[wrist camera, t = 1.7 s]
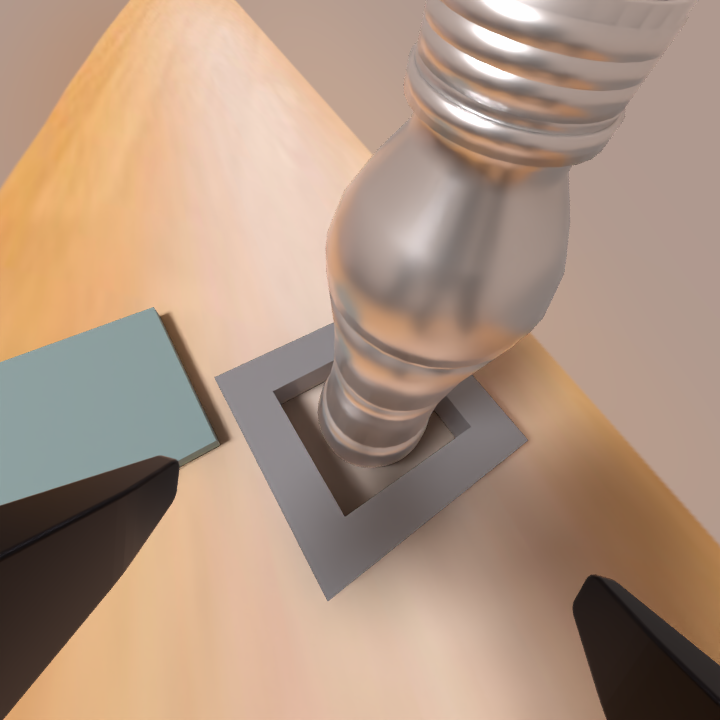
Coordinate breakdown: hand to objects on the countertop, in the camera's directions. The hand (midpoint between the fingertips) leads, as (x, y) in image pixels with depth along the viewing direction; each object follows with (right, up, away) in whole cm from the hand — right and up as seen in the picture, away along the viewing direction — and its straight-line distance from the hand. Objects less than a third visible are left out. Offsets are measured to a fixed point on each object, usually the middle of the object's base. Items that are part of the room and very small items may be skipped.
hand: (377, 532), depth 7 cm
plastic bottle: (0, -1, +15) cm, 15 cm away
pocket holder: (0, -1, +15) cm, 15 cm away
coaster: (-16, 0, +13) cm, 21 cm away
